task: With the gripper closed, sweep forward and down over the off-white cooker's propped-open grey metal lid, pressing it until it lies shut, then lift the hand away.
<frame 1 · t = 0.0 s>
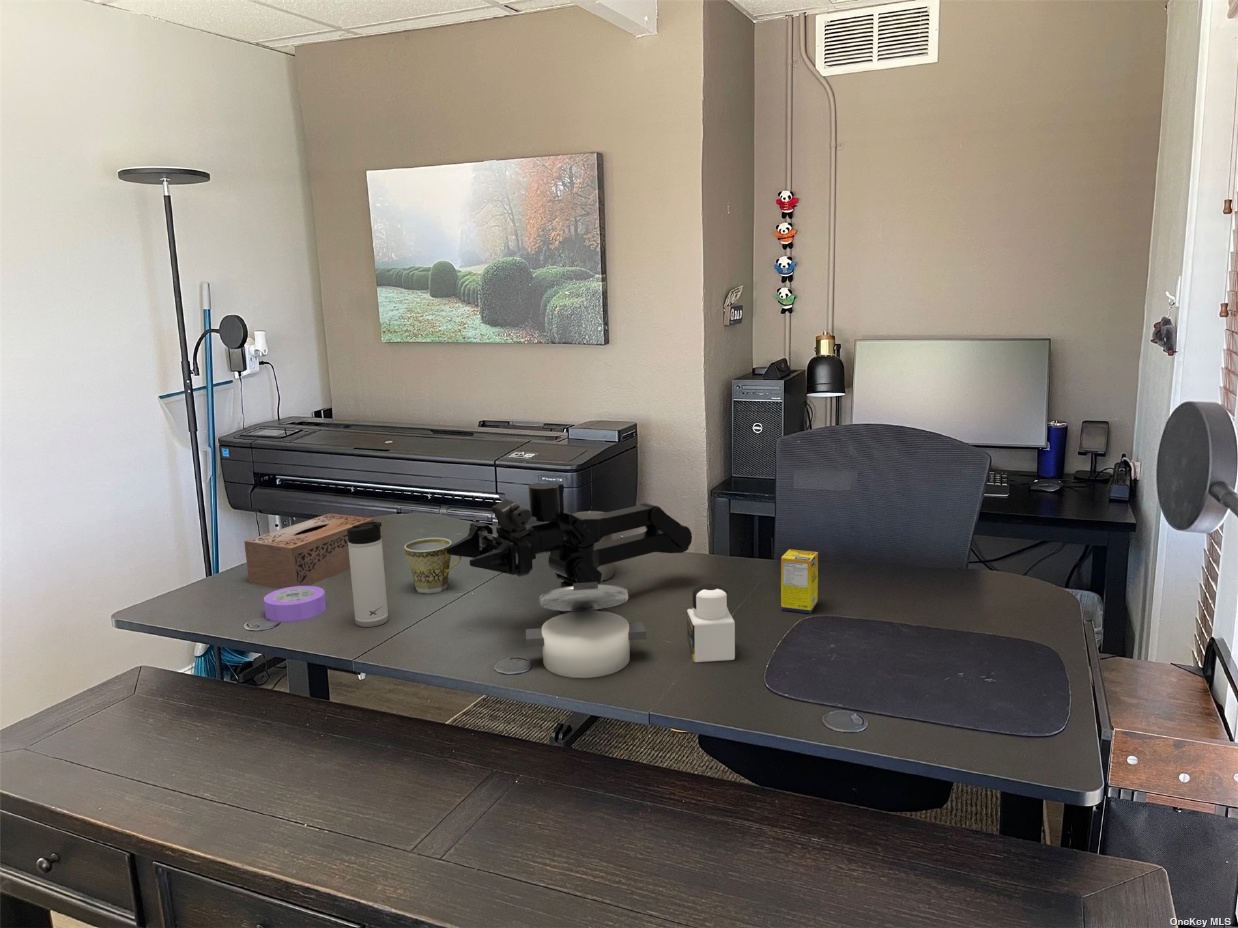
hand: (458, 557, 159), 17 cm above the table, tool horizontal, fingers open, 9 cm apart
travel mug: (373, 622, 175), on the table
tissue box cover: (315, 571, 208), on the table
supplement box: (799, 608, 175), on the table
cooker body: (586, 659, 154), on the table
ceramic cup: (437, 590, 192), on the table
medicine bottle: (710, 654, 155), on the table
cooker lid: (584, 594, 153), point 11 cm above the table, hinge at 32.0°
masking tape: (296, 613, 182), on the table
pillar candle: (591, 576, 198), on the table
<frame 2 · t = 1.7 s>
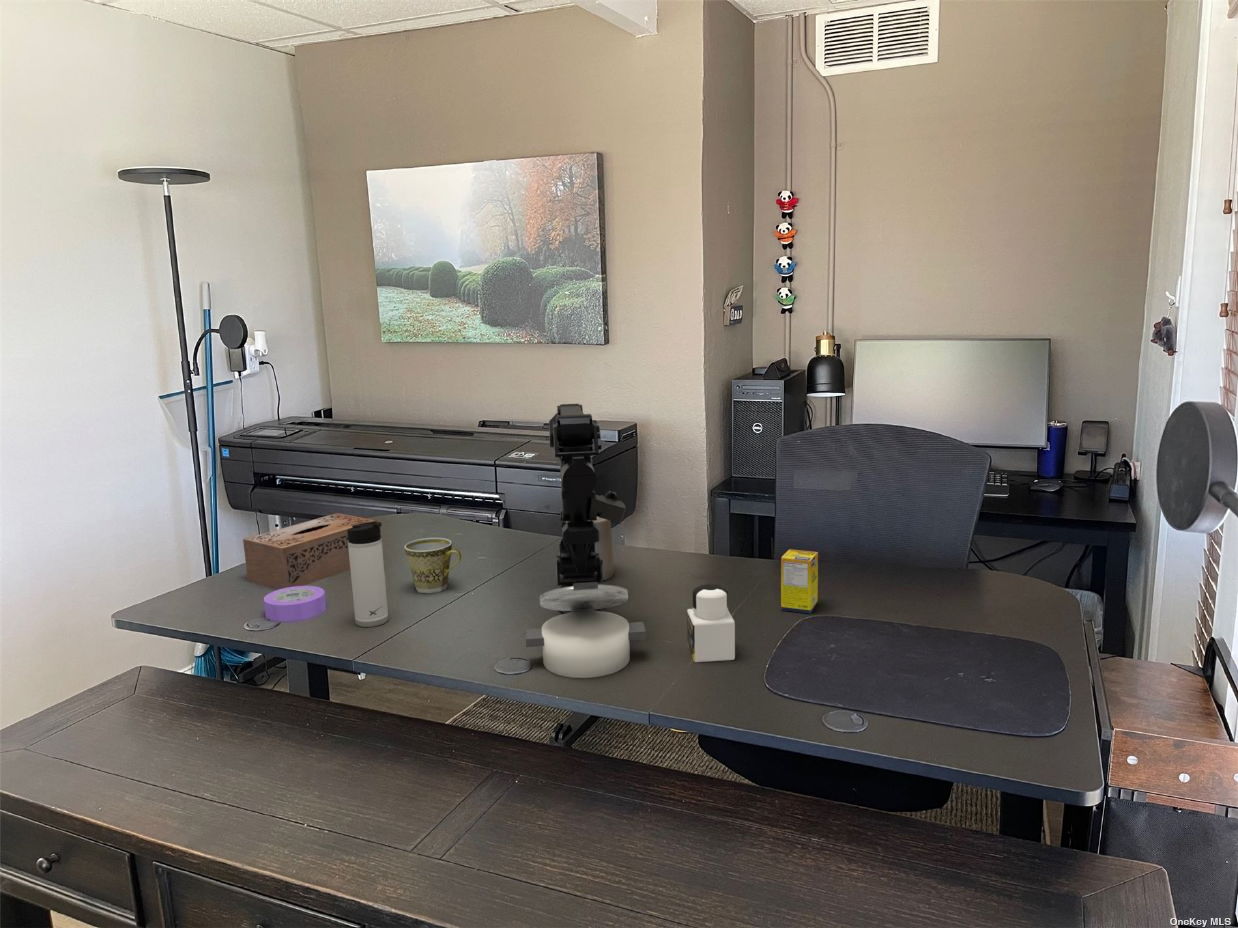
hand: (580, 567, 162), 13 cm above the table, tool pointing down, fingers open, 6 cm apart
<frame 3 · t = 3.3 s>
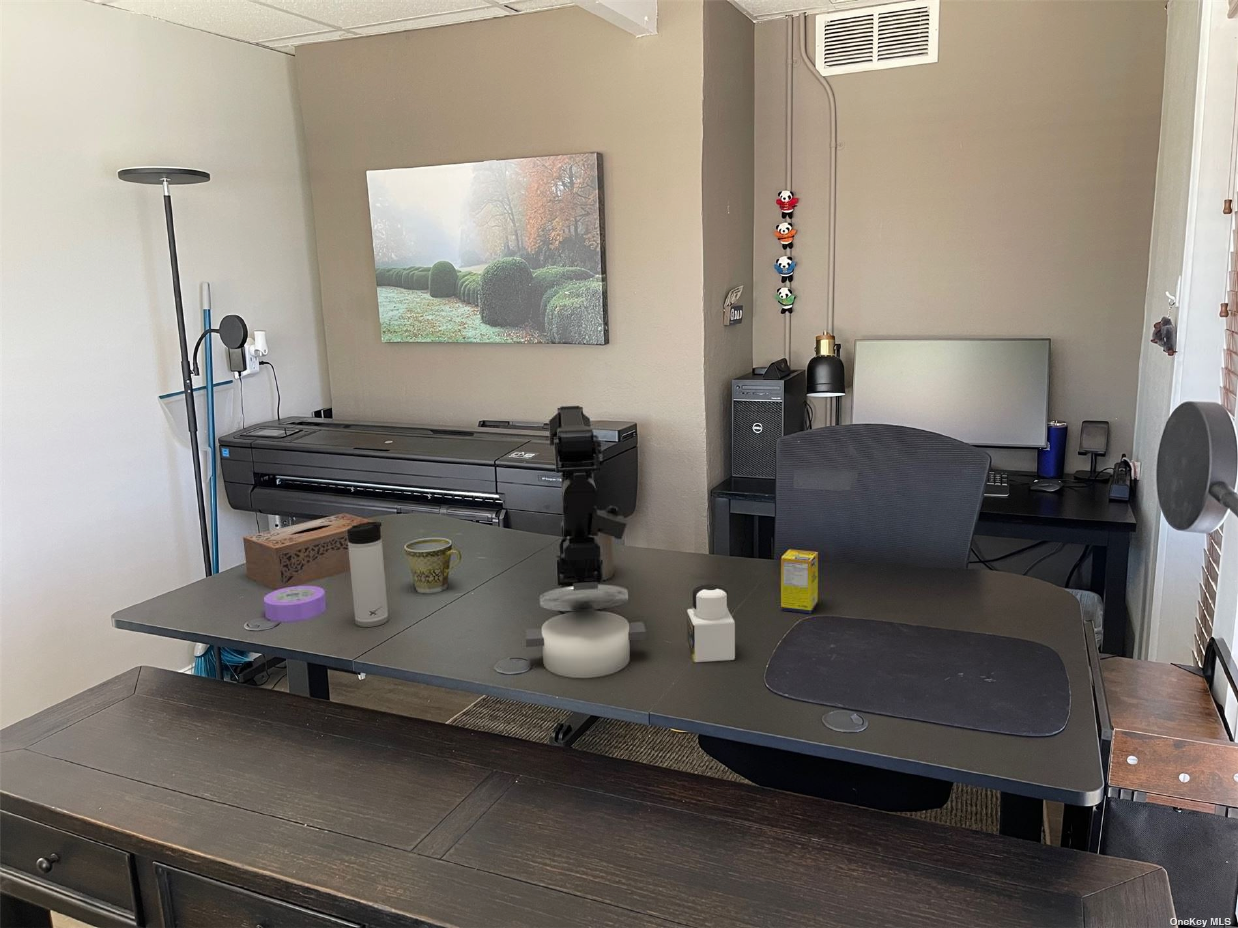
hand: (581, 582, 161), 11 cm above the table, tool pointing down, fingers closed
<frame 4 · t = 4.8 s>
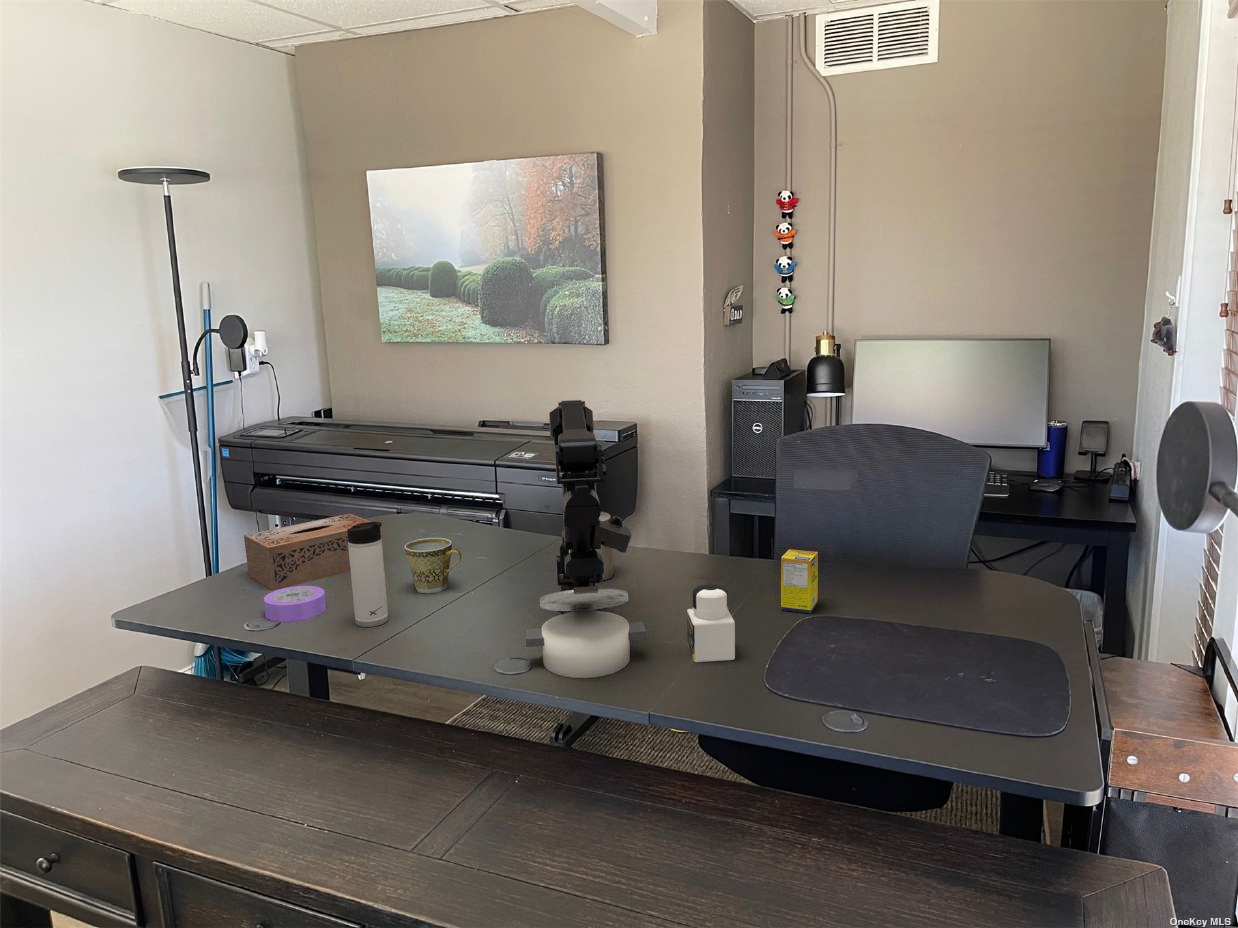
hand: (583, 596, 154), 11 cm above the table, tool pointing down, fingers closed
cooker lid: (584, 596, 153), point 11 cm above the table, hinge at 29.6°, touching gripper
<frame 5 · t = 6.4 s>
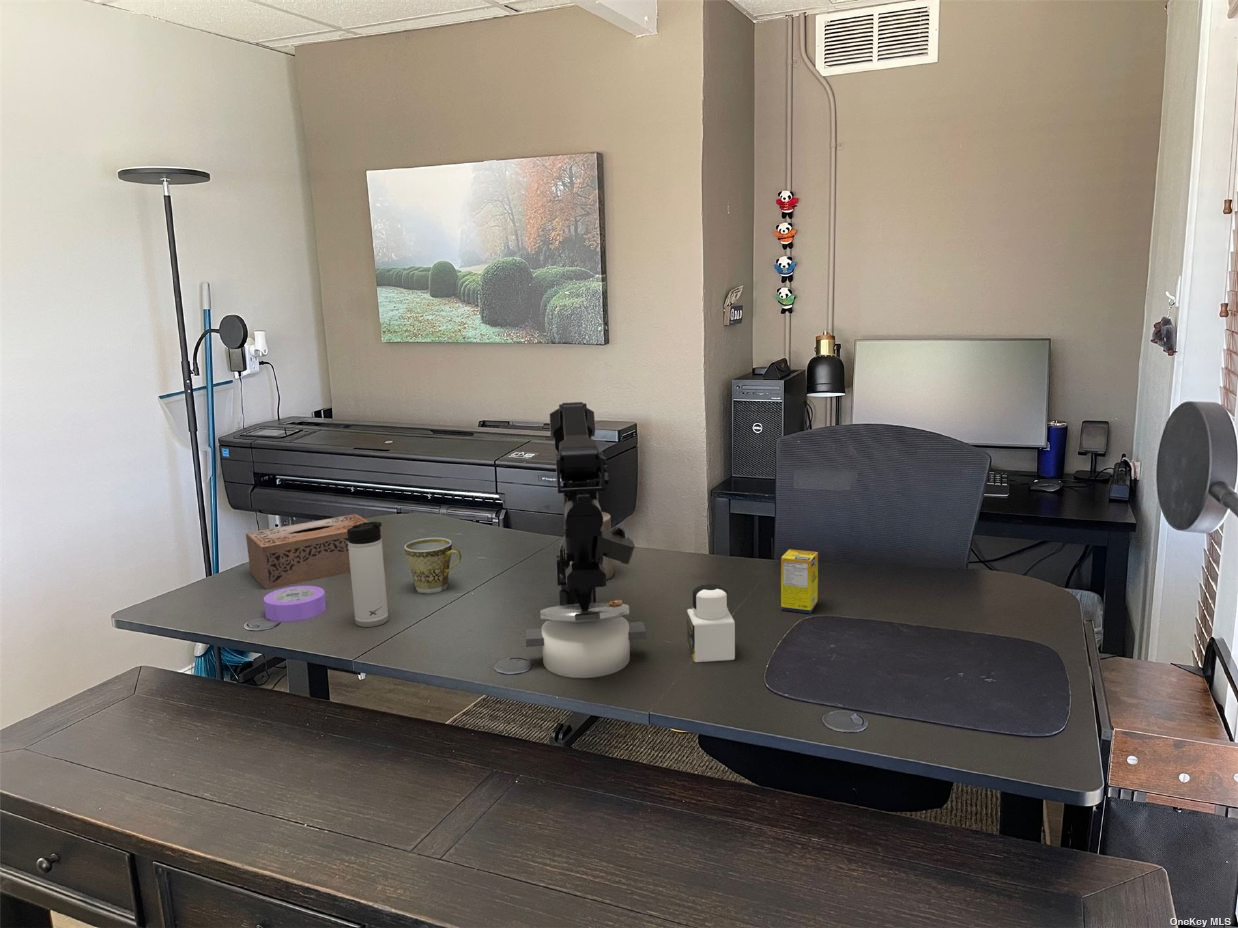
hand: (585, 610, 150), 10 cm above the table, tool pointing down, fingers closed
cooker lid: (585, 610, 152), point 9 cm above the table, hinge at 14.1°, touching gripper
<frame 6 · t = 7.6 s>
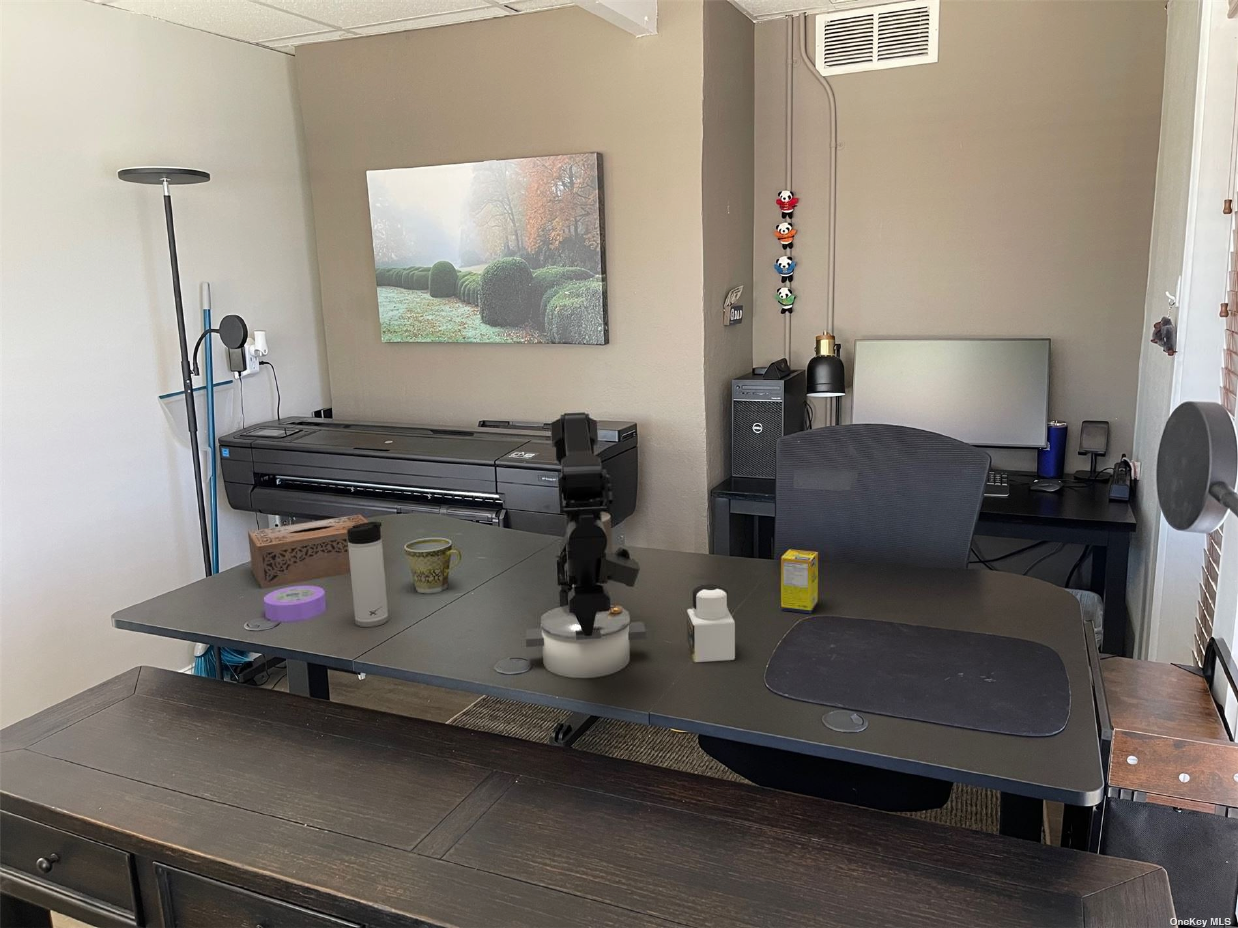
hand: (588, 634, 143), 8 cm above the table, tool pointing down, fingers closed
cooker lid: (585, 619, 152), point 8 cm above the table, hinge at 3.5°, touching gripper
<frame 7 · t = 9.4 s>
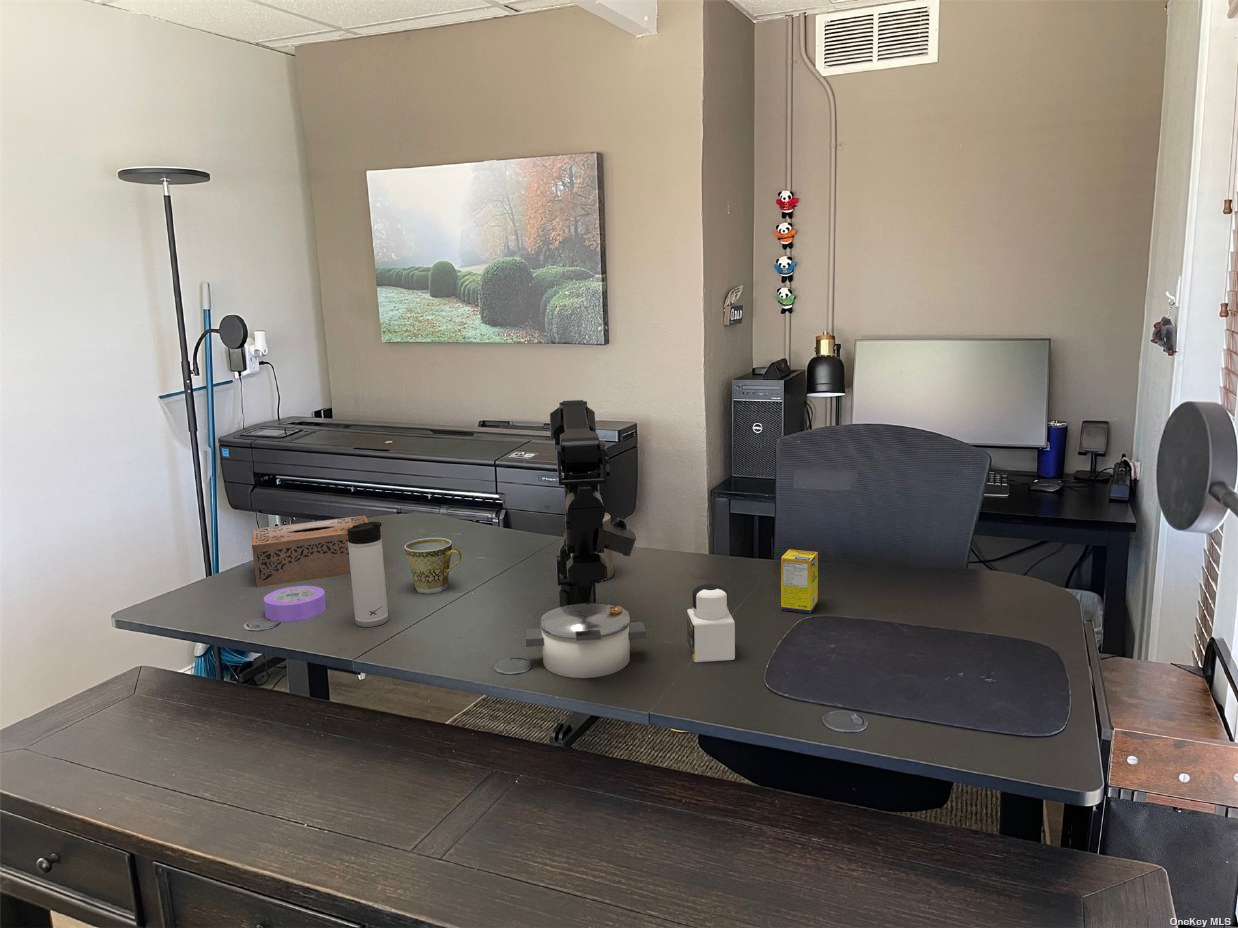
hand: (585, 602, 149), 12 cm above the table, tool pointing down, fingers closed
cooker lid: (585, 619, 152), point 8 cm above the table, hinge at 2.9°
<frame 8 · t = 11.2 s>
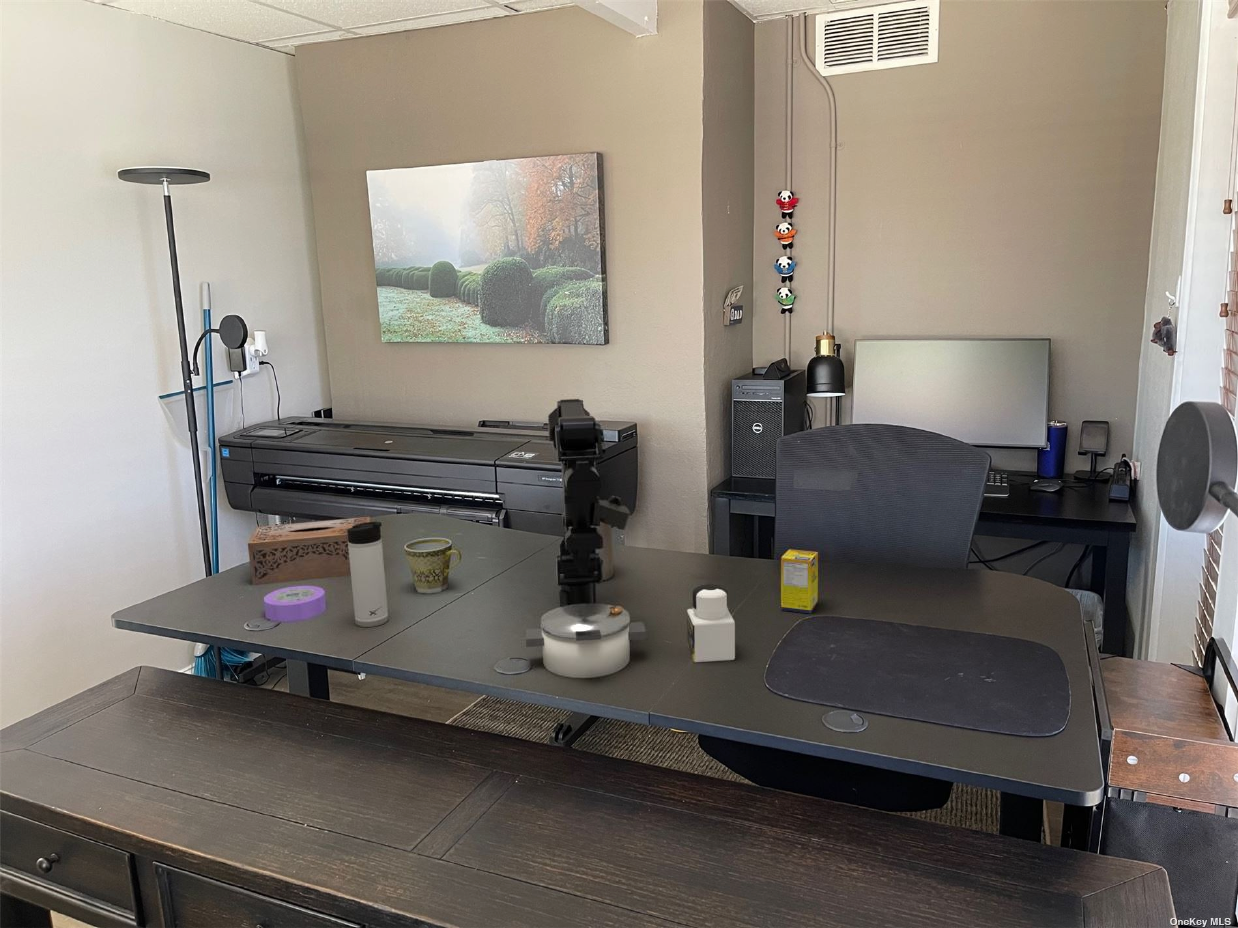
hand: (583, 574, 159), 13 cm above the table, tool pointing down, fingers closed
at the end: cooker lid at +3° (first picture: +32°) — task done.
